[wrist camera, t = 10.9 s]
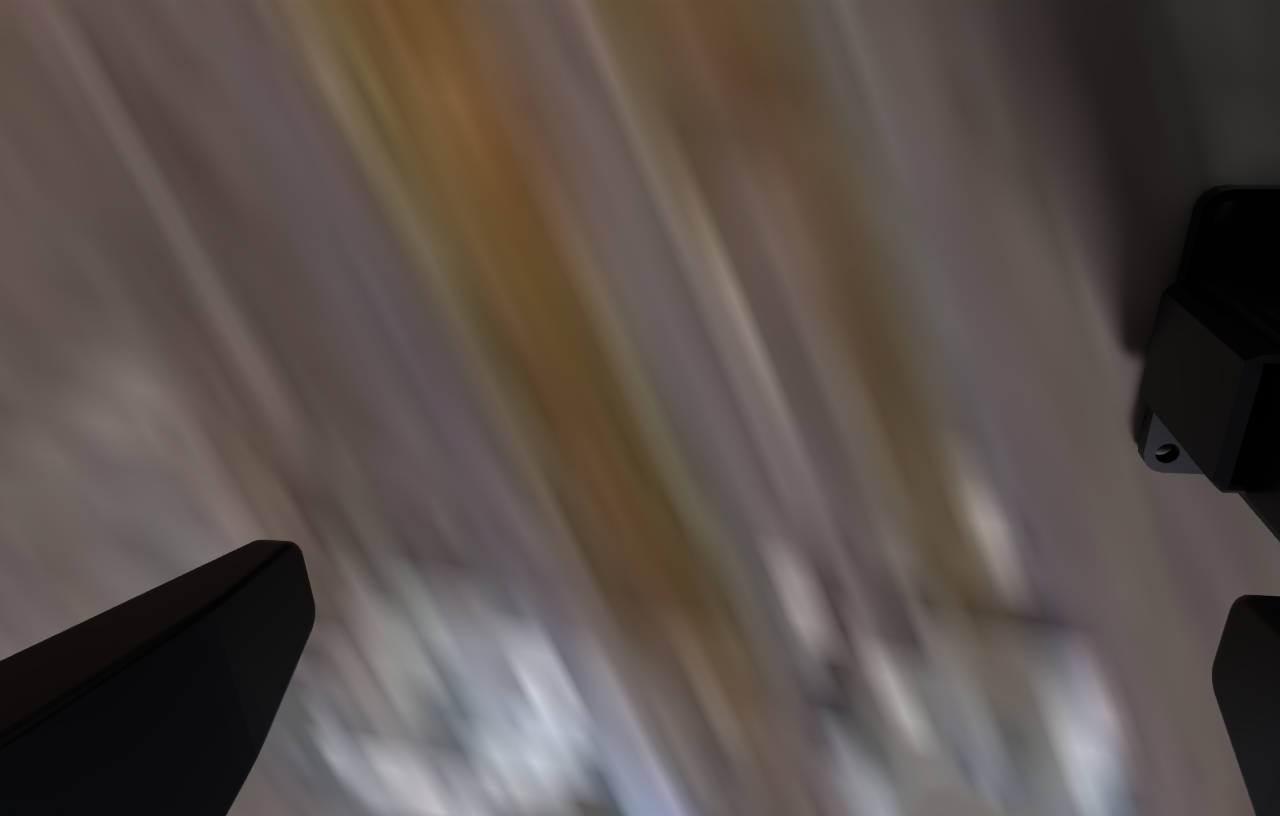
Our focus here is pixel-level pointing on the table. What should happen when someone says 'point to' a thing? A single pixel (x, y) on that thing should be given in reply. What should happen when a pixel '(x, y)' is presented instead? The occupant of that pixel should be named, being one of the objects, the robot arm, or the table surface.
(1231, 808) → the table surface
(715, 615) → the table surface
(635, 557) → the table surface
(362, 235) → the table surface
